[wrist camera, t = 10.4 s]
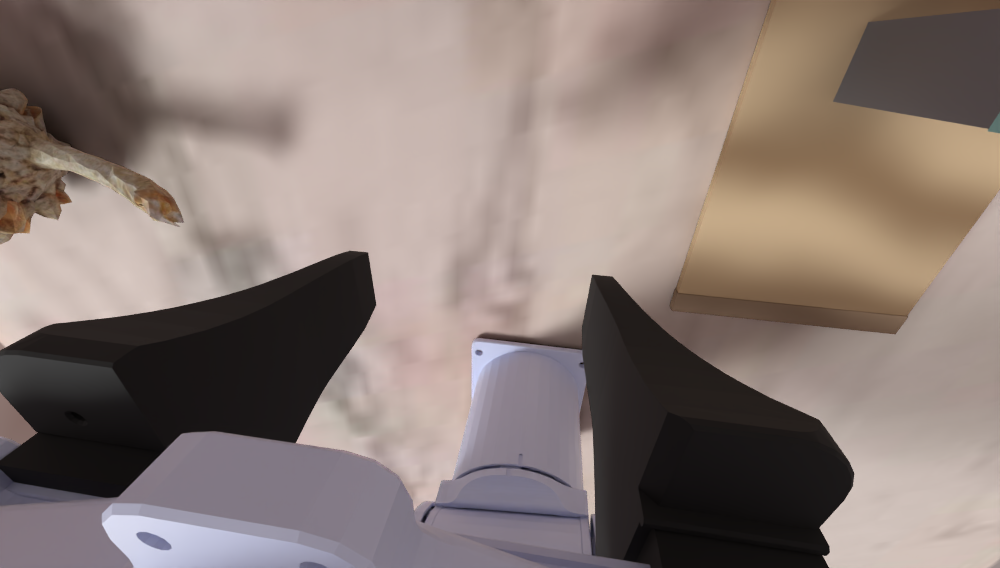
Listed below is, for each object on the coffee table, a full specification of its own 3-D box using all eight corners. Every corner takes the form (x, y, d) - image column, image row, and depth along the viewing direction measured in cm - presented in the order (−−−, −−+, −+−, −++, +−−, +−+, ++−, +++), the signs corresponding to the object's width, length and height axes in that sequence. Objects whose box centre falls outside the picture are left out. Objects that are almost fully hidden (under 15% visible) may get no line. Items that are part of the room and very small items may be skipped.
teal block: (904, 107, 16) (1194, 151, 9) (831, 102, 16) (1051, 142, 9) (950, 23, 14) (1346, -8, 7) (867, 20, 15) (1169, -13, 7)
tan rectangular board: (888, 328, 22) (895, 334, 21) (669, 305, 23) (671, 310, 22) (1146, -32, 13) (1167, -35, 13) (783, -40, 15) (790, -43, 14)
